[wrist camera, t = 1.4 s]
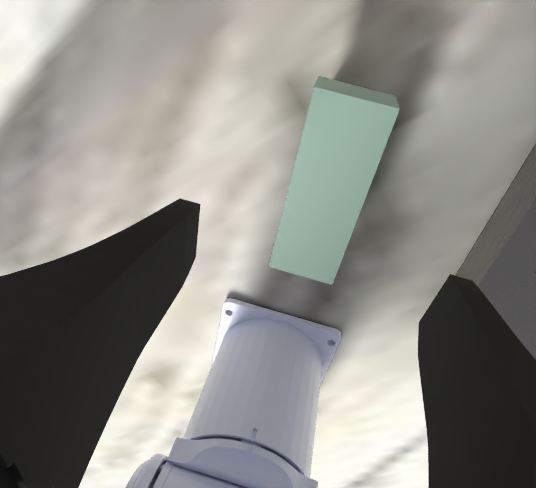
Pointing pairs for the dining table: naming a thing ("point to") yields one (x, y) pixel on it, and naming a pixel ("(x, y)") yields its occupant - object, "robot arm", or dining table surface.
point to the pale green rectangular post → (331, 176)
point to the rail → (510, 257)
